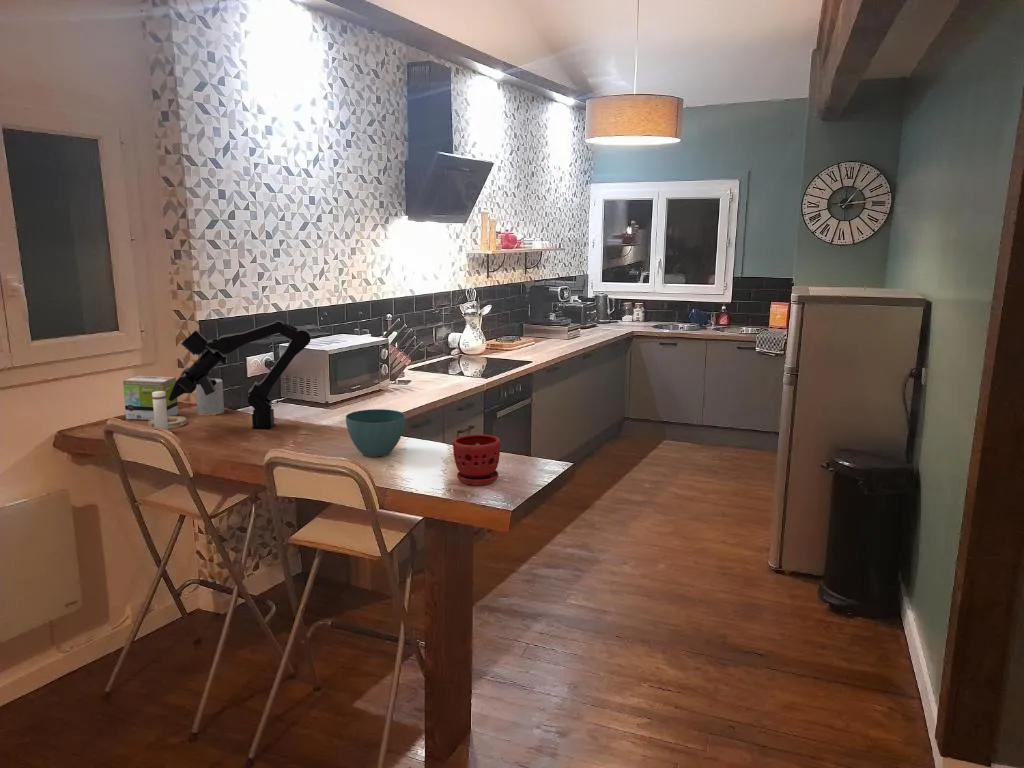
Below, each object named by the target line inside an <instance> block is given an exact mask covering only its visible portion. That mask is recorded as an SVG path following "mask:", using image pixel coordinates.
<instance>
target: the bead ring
mask: <svg viewBox="0 0 1024 768" xmlns="http://www.w3.org/2000/svg"><path fill="white" fill-rule="evenodd" d="M167 420H168V430H169V429H175V428H180V427H183V426H185V425H187V424H188V418H186V417H185V416H181V415H180V416H179V415H176V416H170V417H169V416H167ZM147 423H148V426H149V425H150V426H154V427H155V422H154V419H152V420H148V422H147ZM186 423H187V424H186ZM184 424H185V425H184ZM182 425H183V426H182Z"/></svg>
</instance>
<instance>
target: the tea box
mask: <svg viewBox="0 0 1024 768" xmlns="http://www.w3.org/2000/svg"><path fill="white" fill-rule="evenodd" d="M176 381H177V377H176V376H157V375H156V376H154V375H152V376H151V375H150V376H149V375H136V376H134V377H130V378H128V379H125V380H123V381H122V383H123V384H122V386H123V396H124V397H123V398H124V400H123V401H124V410H125V419H126V420H144V421H145V420H146V421H147V420H148V421H150V420H152V419H154V409H153V399H152V392H156V391H165V394H166V407H167V416H169V417H170V416H175V415H176V416H178V415H179V408H178V407H179V404H178V402H179V401H178V397H177V398H176V399H174V400H173V401H170V400H169V397H170V394H171V392H172V390H173V387H174V385H175V382H176ZM177 414H178V415H177Z"/></svg>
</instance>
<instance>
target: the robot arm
mask: <svg viewBox="0 0 1024 768" xmlns="http://www.w3.org/2000/svg"><path fill="white" fill-rule="evenodd" d="M276 334H280V335H282V336H283V337H285V338H287V339H289V342H288V344H287V346H286V348H285V350H284V351H283V353H282V354H281V355H280V357H279V358H278V359H277V361H276V362H275V364H274V365H273V366H272V367H271V369H269V372H268V373H267V374H266V376H265V377H264V378H263V379H262V380H260V382H257V380H255V381H254V384H253V385H252V386H251V388H249V389H248V392H247V395H248V396H247V403H248V405H249V406H250V407H252V408H253V410H252V414H251V421H252V422H251V425H252V426H251V429H252V430H253V429H255V430H256V429H259V430H260V429H261V430H270V429H272V428H274V427H275V426H277V423H275V413H274V411H275V410H274V408H272V406H273V401H272V399H270V398H268V396H269V394H270V393H271V390H272V388H273V386H274V385H275V383H277V381H278V380H279V378H280V377H281V375H282V374H283V373H284V372H285V370H286V369H287V368H288V366H289V365H290V364H291V362H292V361H293V359H294V358H295V357H296V355H298V354H299V353H300V352H301V351H303V350H304V349H305V348H306V347H308V345H310V343H311V339H312V338H311V333H310V332H309V331H308V330H307V329H306V328H301V327H300V328H297V327H295V326H293V325H291V324H287V323H285V322H283V321H282V320H275V321H274V322H271V323H268V324H265V325H262V326H259V327H256V328H253V329H249V330H247V331H244V332H237V333H230V334H223V335H221V336H220V337H218V338H214V339H206V338H205V337H204V336H203V335H202V334H201V333H200V332H199V331H198V330H197V329H196V330H194V331H193V332H192V333H191V334H190V335H188V336H187V337H186V338H185V339H184V340H183V341H182V342H181V343H180V345H181V346H183V347H184V348H185V349H186V350H187V351H188V352H189V353H191V354H192V355H194V356H195V355H196V356H199V357H198V359H196V360H195V361H194V362H193V364H191V366H189V367H186V368H185V369H184V370H183V371H182V372H181V373H180V376H178V378H176V382H175V385H174V387H173V390H172V392H171V394H170V397H169V400H170V401H173V400H174V399H176V398H177V399H178V398H179V397H180V396H182V395H183V394H189V395H191V394H193V392H195V391H196V388H197V385H199V384H200V385H201V387H202V388H203V390H204V393H205V395H206V396H207V395H209V394H211V393H213V392H215V391H216V387H215V385H216V383H217V382H216V380H215V379H216V378H211V377H210V376H209V375H210V374H211V371H212V370H213V369H215V367H217V366H218V364H219V363H222V364H224V365H227V364H228V360H227V359H228V356H227V355H228V354H230V353H233V351H235V350H237V349H239V348H241V347H242V346H244V345H246V344H250V343H252V342H255V341H258V340H261V339H264V338H267V337H270V336H273V335H276ZM205 350H206V351H205ZM204 351H205V352H204ZM226 354H227V355H226ZM200 355H201V356H200ZM195 382H196V383H195Z"/></svg>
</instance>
